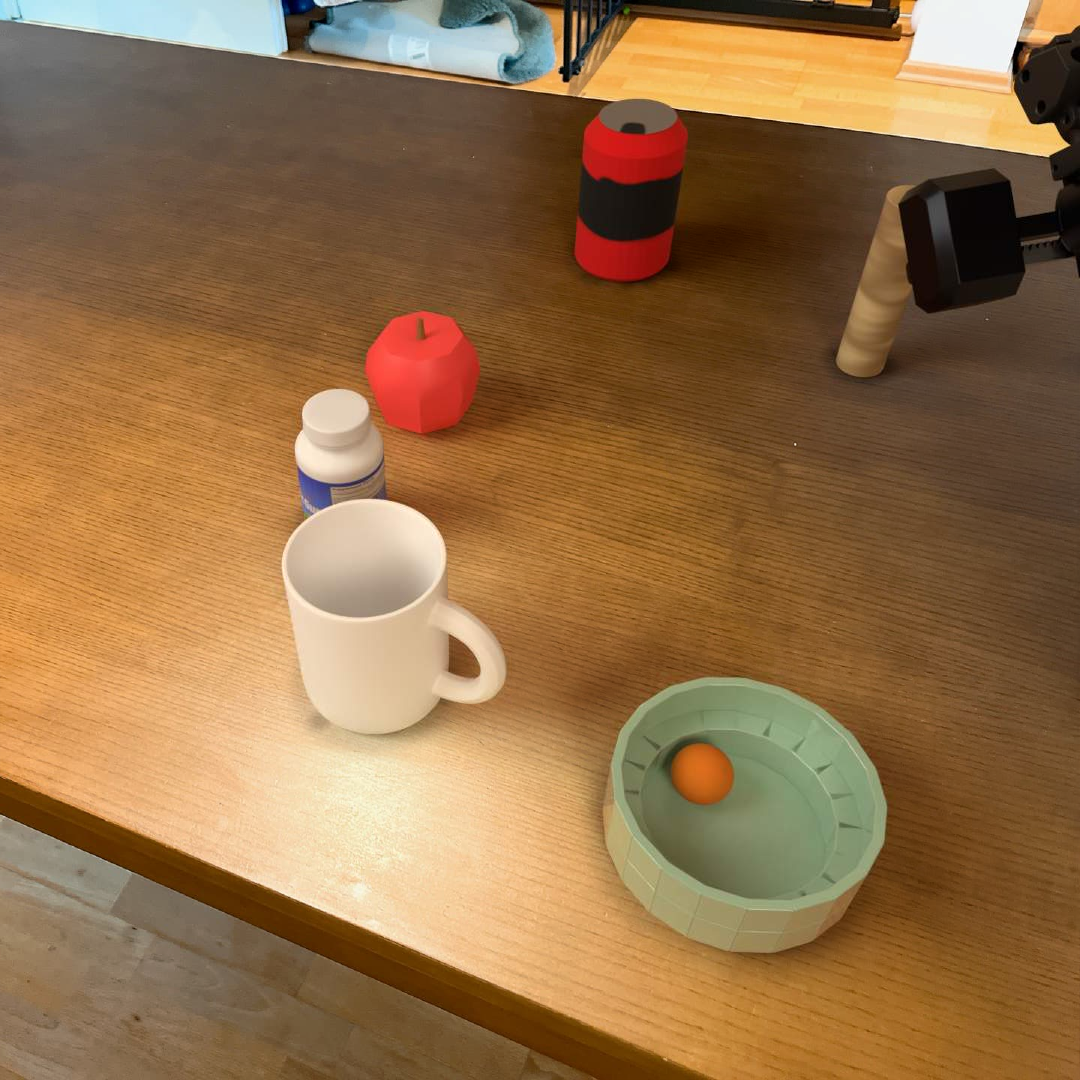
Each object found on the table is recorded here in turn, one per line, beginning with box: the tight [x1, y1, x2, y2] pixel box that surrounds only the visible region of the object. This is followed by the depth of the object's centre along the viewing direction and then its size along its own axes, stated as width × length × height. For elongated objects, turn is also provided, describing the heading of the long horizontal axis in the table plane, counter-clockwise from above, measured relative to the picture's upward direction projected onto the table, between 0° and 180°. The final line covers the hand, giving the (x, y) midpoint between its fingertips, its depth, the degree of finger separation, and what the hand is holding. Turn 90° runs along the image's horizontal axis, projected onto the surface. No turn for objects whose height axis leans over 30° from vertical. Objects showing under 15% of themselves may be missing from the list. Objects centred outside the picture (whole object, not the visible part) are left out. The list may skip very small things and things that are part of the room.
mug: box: [281, 499, 508, 735], centre depth 56 cm, size 12×8×10 cm
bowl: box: [602, 676, 888, 954], centre depth 51 cm, size 12×12×5 cm
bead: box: [671, 743, 734, 805], centre depth 53 cm, size 3×3×3 cm
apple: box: [364, 310, 482, 435], centre depth 73 cm, size 8×8×8 cm
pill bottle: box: [294, 388, 388, 521], centre depth 66 cm, size 5×5×10 cm
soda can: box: [574, 98, 689, 283], centre depth 83 cm, size 8×8×12 cm
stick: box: [835, 184, 918, 378], centre depth 72 cm, size 3×3×13 cm
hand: (985, 260), depth 61 cm, fingers open, 9 cm apart
